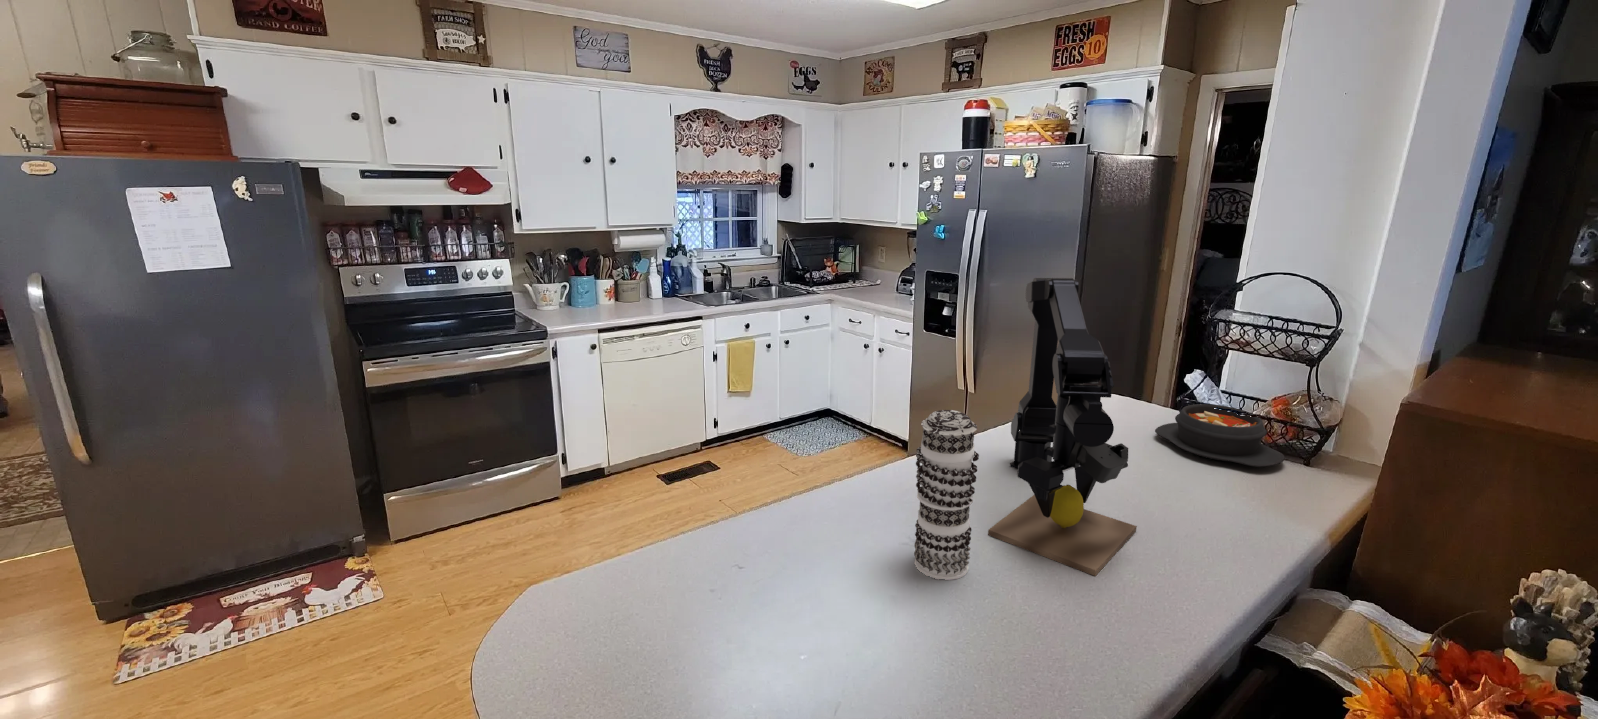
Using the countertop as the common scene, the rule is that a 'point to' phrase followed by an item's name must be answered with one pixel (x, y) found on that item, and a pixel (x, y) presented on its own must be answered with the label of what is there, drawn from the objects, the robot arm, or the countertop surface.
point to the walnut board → (1064, 536)
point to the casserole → (1221, 435)
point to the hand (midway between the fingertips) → (1064, 509)
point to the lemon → (1067, 506)
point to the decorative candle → (945, 494)
